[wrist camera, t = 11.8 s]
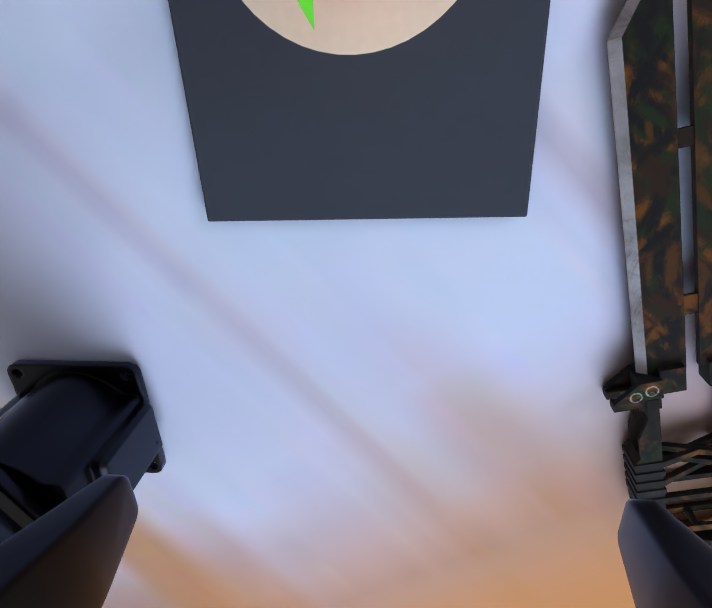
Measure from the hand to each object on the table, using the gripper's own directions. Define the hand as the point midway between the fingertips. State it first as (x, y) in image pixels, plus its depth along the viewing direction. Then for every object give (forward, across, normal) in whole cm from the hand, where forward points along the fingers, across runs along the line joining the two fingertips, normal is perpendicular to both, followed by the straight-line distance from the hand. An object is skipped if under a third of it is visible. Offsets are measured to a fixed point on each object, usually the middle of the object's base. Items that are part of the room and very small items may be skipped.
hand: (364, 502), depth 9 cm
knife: (+12, -11, +2) cm, 17 cm away
